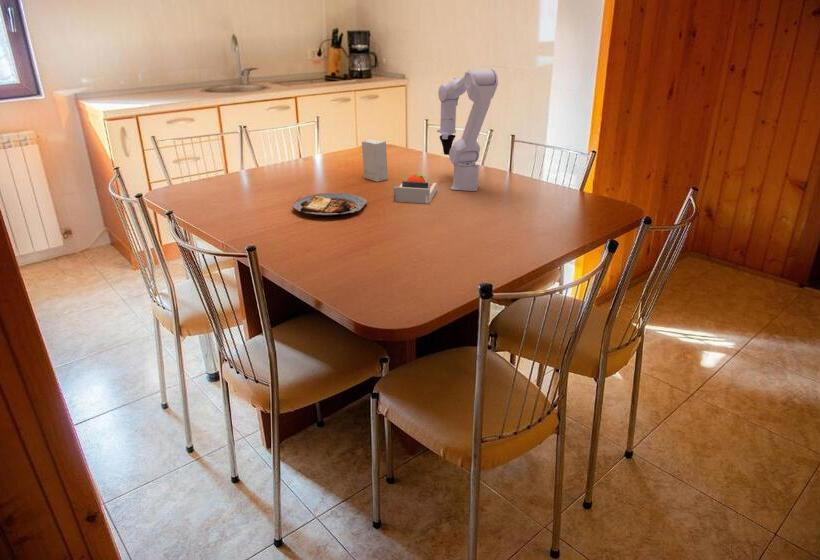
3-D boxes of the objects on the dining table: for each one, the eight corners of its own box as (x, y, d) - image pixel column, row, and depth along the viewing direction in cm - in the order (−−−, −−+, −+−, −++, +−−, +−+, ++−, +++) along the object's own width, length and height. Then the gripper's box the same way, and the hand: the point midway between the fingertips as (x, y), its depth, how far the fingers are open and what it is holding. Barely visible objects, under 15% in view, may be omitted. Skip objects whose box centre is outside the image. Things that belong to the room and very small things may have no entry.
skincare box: (388, 179, 229) (387, 141, 223) (376, 182, 225) (375, 143, 219) (374, 175, 234) (373, 138, 228) (362, 178, 231) (361, 140, 224)
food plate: (354, 222, 183) (354, 211, 182) (283, 218, 187) (282, 207, 185) (372, 201, 206) (372, 191, 204) (308, 198, 209) (308, 188, 208)
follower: (428, 196, 208) (428, 182, 205) (427, 197, 207) (427, 183, 204) (402, 195, 209) (402, 180, 207) (402, 196, 208) (402, 181, 206)
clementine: (429, 191, 214) (429, 172, 211) (427, 197, 208) (428, 177, 205) (407, 190, 215) (407, 171, 212) (405, 196, 209) (405, 176, 206)
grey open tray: (436, 190, 215) (437, 177, 213) (428, 203, 201) (429, 189, 199) (403, 188, 217) (403, 175, 215) (393, 201, 203) (393, 187, 201)
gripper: (440, 114, 228) (439, 149, 234) (434, 121, 215) (433, 158, 221) (458, 115, 227) (457, 150, 233) (453, 122, 214) (452, 159, 220)
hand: (447, 154), depth 227 cm, fingers closed
